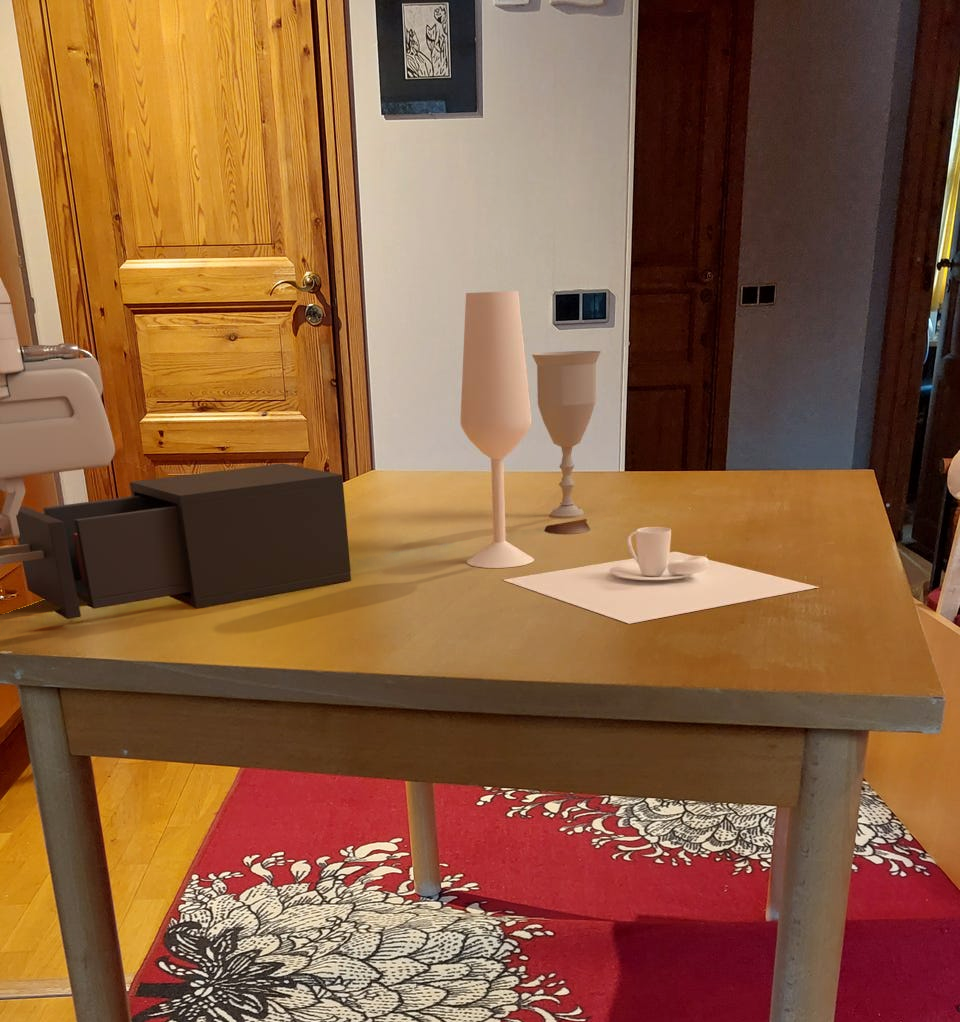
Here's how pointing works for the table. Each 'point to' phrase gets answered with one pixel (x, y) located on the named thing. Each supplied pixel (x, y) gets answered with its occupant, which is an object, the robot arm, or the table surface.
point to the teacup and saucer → (656, 582)
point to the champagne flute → (495, 402)
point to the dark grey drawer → (101, 552)
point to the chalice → (566, 418)
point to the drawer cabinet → (257, 530)
